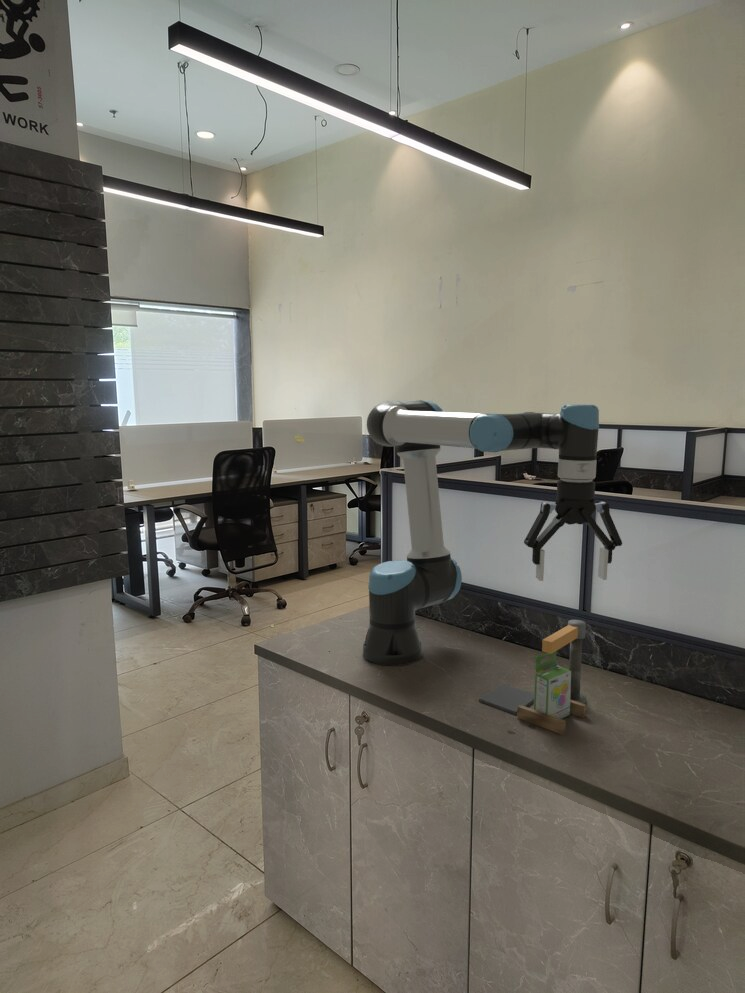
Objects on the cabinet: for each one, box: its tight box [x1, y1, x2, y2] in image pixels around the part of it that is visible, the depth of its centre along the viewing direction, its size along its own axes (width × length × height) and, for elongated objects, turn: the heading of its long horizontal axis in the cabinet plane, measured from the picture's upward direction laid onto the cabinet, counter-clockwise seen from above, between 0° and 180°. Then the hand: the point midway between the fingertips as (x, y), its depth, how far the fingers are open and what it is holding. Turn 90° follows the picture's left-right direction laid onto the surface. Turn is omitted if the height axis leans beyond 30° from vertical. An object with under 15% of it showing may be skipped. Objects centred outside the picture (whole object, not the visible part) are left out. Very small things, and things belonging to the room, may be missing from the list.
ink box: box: [533, 650, 571, 720], centre depth 130 cm, size 7×4×13 cm, turn 126°
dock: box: [516, 639, 587, 736], centre depth 133 cm, size 10×18×14 cm, turn 137°
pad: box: [478, 683, 534, 715], centre depth 139 cm, size 9×10×1 cm
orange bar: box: [541, 619, 587, 654], centre depth 132 cm, size 15×4×3 cm, turn 137°
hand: (570, 578), depth 136 cm, fingers open, 13 cm apart
